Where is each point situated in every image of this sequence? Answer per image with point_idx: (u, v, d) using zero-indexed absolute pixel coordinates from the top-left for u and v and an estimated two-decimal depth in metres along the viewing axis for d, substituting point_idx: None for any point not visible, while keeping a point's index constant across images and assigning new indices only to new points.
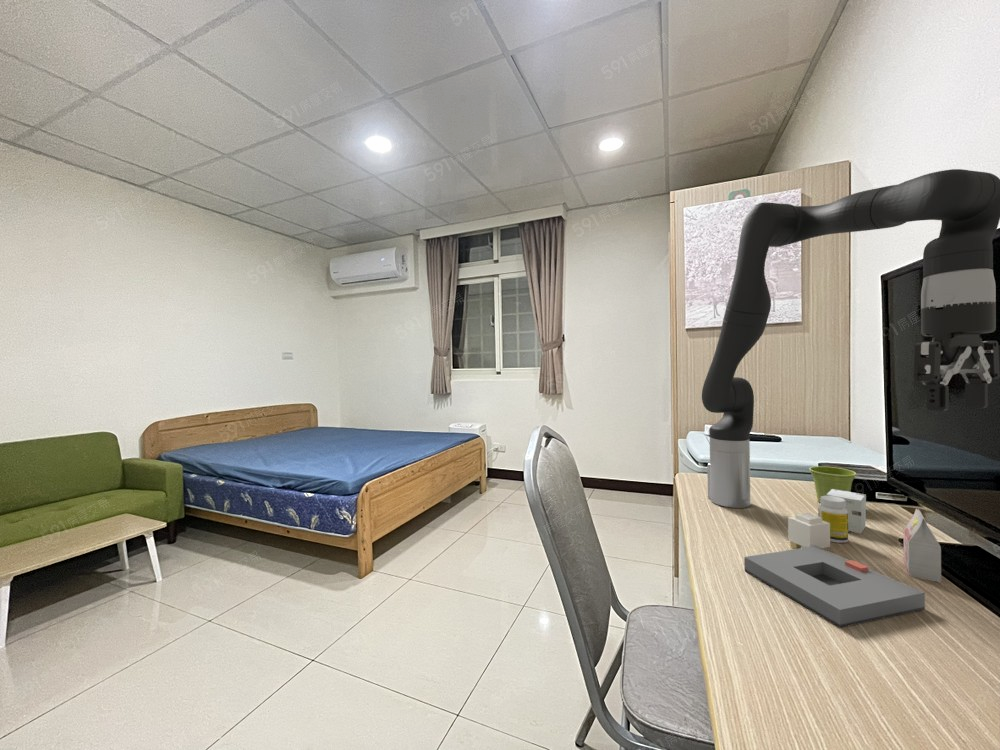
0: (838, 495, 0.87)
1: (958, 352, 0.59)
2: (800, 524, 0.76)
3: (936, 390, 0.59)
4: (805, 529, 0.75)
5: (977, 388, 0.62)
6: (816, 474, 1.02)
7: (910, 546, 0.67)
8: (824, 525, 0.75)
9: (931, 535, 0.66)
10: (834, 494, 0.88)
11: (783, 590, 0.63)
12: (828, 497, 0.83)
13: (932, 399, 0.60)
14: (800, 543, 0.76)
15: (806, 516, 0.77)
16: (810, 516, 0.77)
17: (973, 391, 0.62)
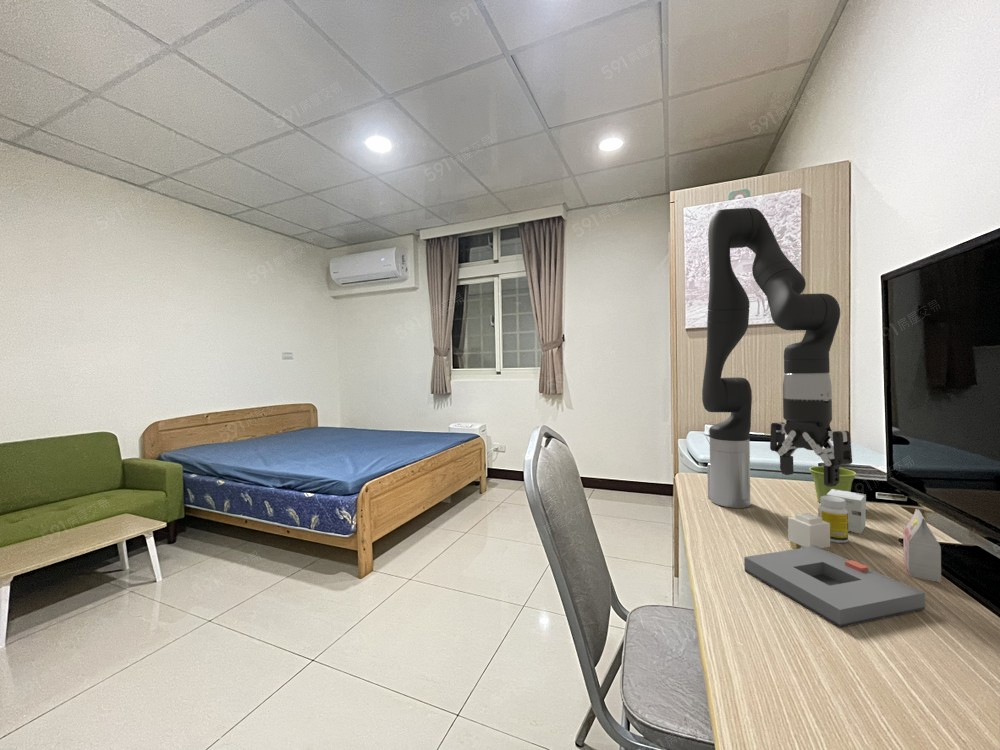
0: (838, 495, 0.87)
1: None
2: (800, 524, 0.76)
3: (838, 470, 0.72)
4: (805, 529, 0.75)
5: (790, 459, 0.81)
6: (816, 474, 1.02)
7: (910, 546, 0.67)
8: (824, 525, 0.75)
9: (931, 535, 0.66)
10: (834, 494, 0.88)
11: (783, 590, 0.63)
12: (828, 497, 0.83)
13: (834, 478, 0.72)
14: (800, 543, 0.76)
15: (806, 516, 0.77)
16: (810, 516, 0.77)
17: (788, 462, 0.81)
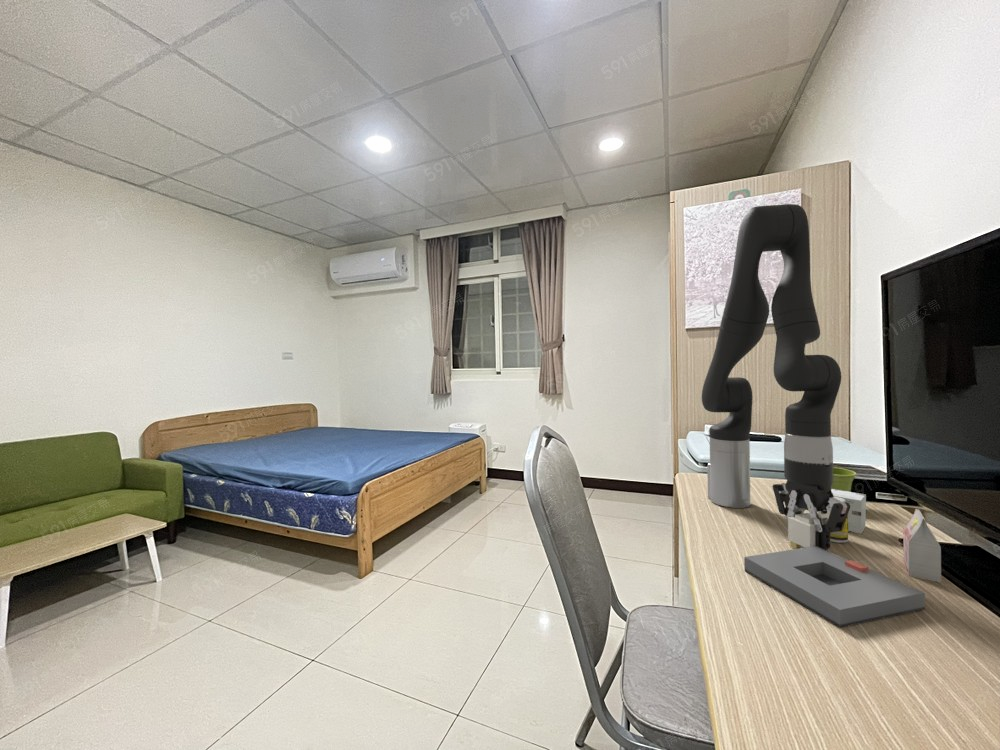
0: (838, 495, 0.87)
1: None
2: (800, 524, 0.76)
3: (829, 536, 0.74)
4: (805, 529, 0.75)
5: None
6: None
7: (910, 546, 0.67)
8: None
9: (931, 535, 0.66)
10: (834, 494, 0.88)
11: (783, 590, 0.63)
12: None
13: None
14: (800, 543, 0.76)
15: (806, 516, 0.77)
16: None
17: None
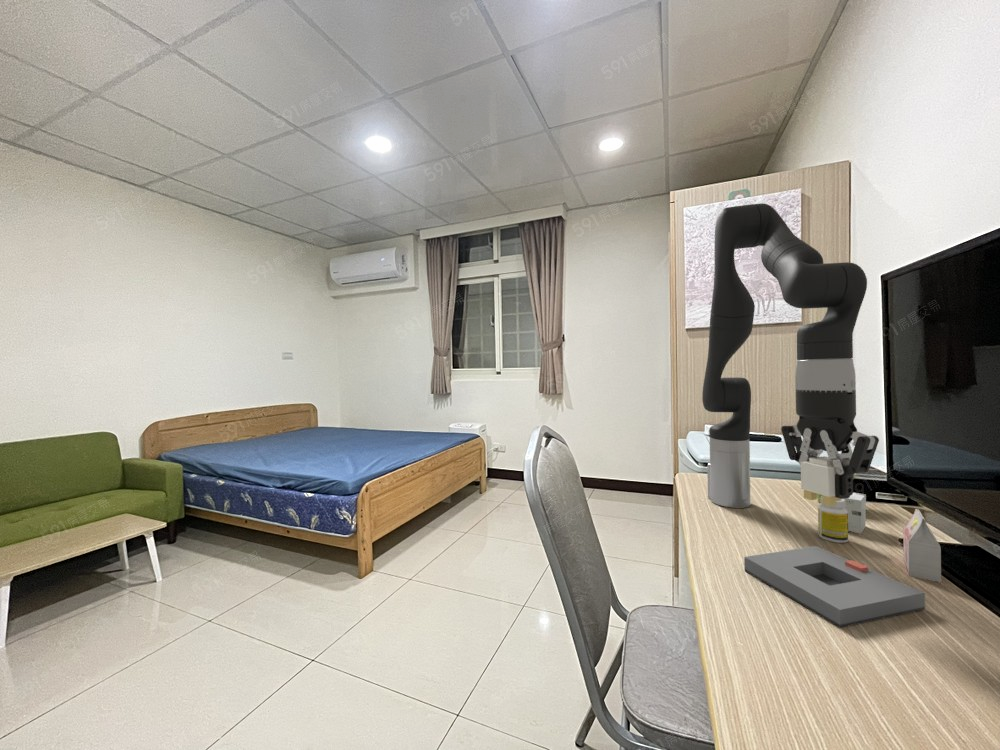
0: None
1: None
2: (815, 468, 0.63)
3: (852, 479, 0.61)
4: (822, 472, 0.62)
5: None
6: None
7: (910, 546, 0.67)
8: None
9: (931, 535, 0.66)
10: None
11: (783, 590, 0.63)
12: None
13: (847, 488, 0.61)
14: (816, 491, 0.63)
15: (823, 458, 0.64)
16: (827, 458, 0.64)
17: None
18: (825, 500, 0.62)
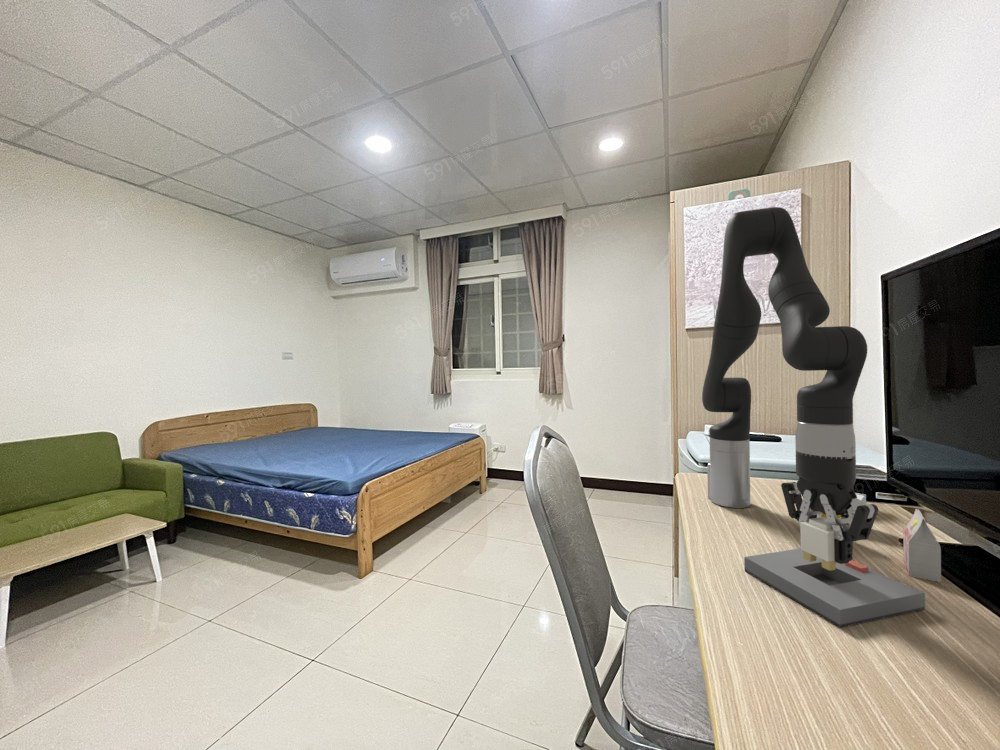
0: None
1: None
2: (815, 531, 0.63)
3: (851, 545, 0.61)
4: (821, 537, 0.62)
5: None
6: None
7: (910, 546, 0.67)
8: None
9: (931, 535, 0.66)
10: None
11: (783, 590, 0.63)
12: None
13: None
14: (815, 553, 0.63)
15: (823, 521, 0.64)
16: (827, 521, 0.64)
17: None
18: (824, 564, 0.62)
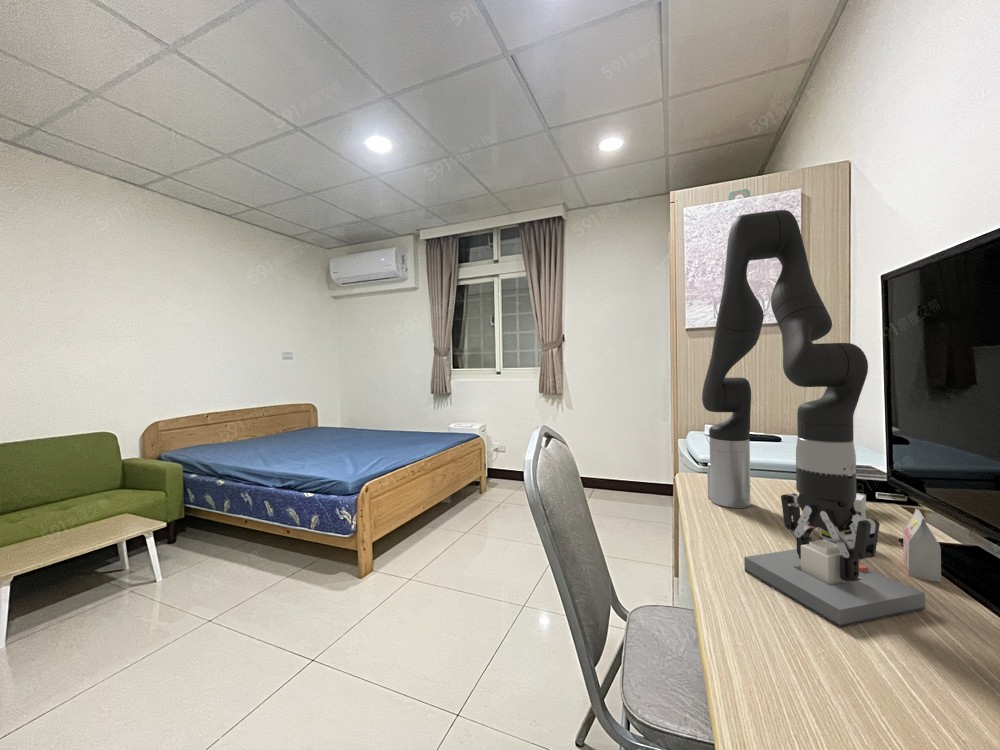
0: None
1: None
2: (815, 554, 0.63)
3: (857, 562, 0.60)
4: (822, 560, 0.62)
5: None
6: None
7: (910, 546, 0.67)
8: None
9: (931, 535, 0.66)
10: None
11: (783, 590, 0.63)
12: None
13: None
14: (816, 577, 0.64)
15: (823, 544, 0.64)
16: (827, 544, 0.64)
17: None
18: None
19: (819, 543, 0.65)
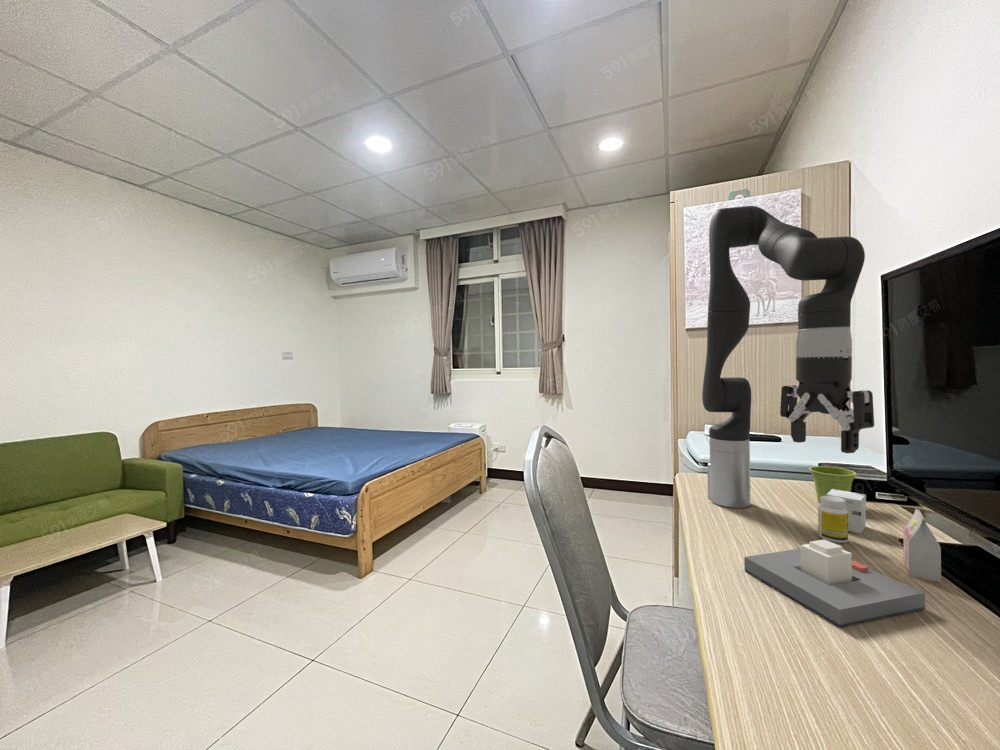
0: (838, 495, 0.87)
1: None
2: (815, 554, 0.63)
3: (858, 435, 0.64)
4: (822, 560, 0.62)
5: (802, 426, 0.73)
6: (816, 474, 1.02)
7: (910, 546, 0.67)
8: (845, 556, 0.62)
9: (931, 535, 0.66)
10: (834, 494, 0.88)
11: (783, 590, 0.63)
12: (828, 497, 0.83)
13: (853, 443, 0.64)
14: (816, 577, 0.64)
15: (823, 544, 0.64)
16: (827, 544, 0.64)
17: (800, 428, 0.73)
18: None
19: (819, 543, 0.65)
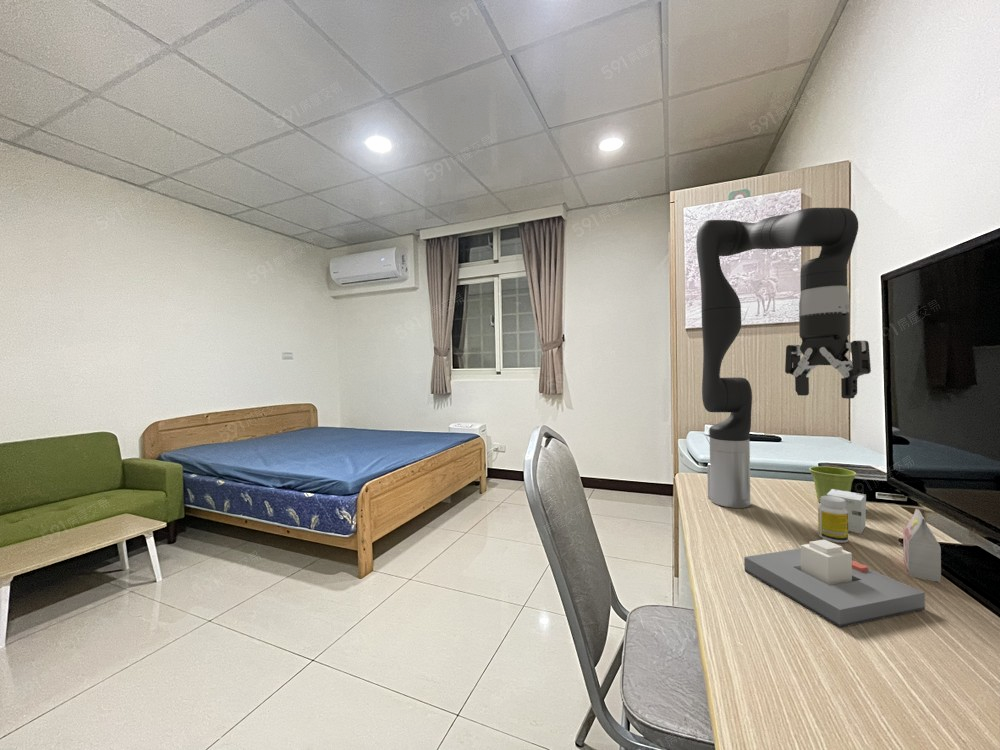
0: (838, 495, 0.87)
1: None
2: (815, 554, 0.63)
3: (856, 381, 0.71)
4: (822, 560, 0.62)
5: (805, 380, 0.80)
6: (816, 474, 1.02)
7: (910, 546, 0.67)
8: (845, 556, 0.62)
9: (931, 535, 0.66)
10: (834, 494, 0.88)
11: (783, 590, 0.63)
12: (828, 497, 0.83)
13: (852, 389, 0.72)
14: (816, 577, 0.64)
15: (823, 544, 0.64)
16: (827, 544, 0.64)
17: (803, 383, 0.80)
18: None
19: (819, 543, 0.65)
